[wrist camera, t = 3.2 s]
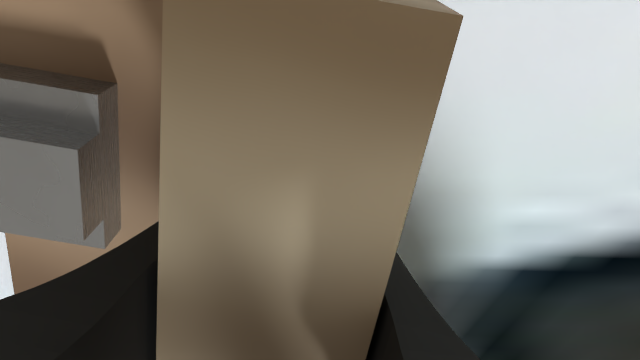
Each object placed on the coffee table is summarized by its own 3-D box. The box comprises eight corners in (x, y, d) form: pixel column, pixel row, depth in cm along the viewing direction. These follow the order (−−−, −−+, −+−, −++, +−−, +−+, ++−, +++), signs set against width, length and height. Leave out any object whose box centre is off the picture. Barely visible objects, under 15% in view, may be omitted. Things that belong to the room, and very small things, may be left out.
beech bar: (319, 411, 16) (310, 550, 12) (198, 392, 16) (152, 526, 12) (421, -9, 10) (462, 16, 6) (231, -44, 10) (162, -40, 6)
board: (308, 346, 19) (307, 358, 18) (26, 301, 18) (17, 311, 18) (389, -44, 12) (391, -44, 12) (-34, -122, 12) (-51, -125, 12)
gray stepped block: (121, 228, 16) (85, 272, 14) (1, 208, 16) (-53, 250, 14) (117, 83, 14) (74, 108, 12) (-23, 59, 14) (-92, 80, 11)
